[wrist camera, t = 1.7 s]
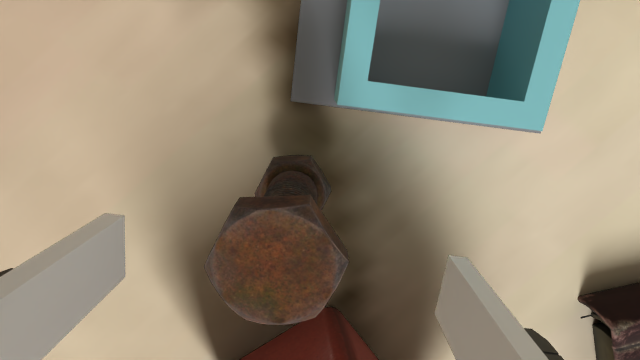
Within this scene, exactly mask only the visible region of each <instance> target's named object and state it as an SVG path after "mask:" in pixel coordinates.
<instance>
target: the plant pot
mask: <svg viewBox="0 0 640 360" xmlns="http://www.w3.org/2000/svg"><path fill="white" fill-rule="evenodd" d="M240 360H378V358H377V357H376V356H375V355H374V353H373V352H372V351H371V350H370V348H369V347H368V346H367V345H366V343H365V342H364V341H363V340H362V338H361V337H360V336H359V335H358V333H357V332H356V331H355V330H354V328H353V327H352V326H351V325H350V323H349V322H348V321H347V320H346V318H345V317H344V316H343V315H342V313H341V312H340V311H339V310H337V309H336V308H333V307H327V308H323V309H322V311H321V312H320V313H319V314H318V315H317V316H316V317H315V318H312V319H309V320H305V321H302V322H300V323H298V324H297V325H295V326H293V327H292V328H290V329H289V330H287V331H285V332H284V333H282V334H281V335H279V336H277V337H276V338H274V339H272V340H271V341H269V342H267V343H266V344H264V345H263V346H261V347H259V348H258V349H256V350H254V351H253V352H251V353H249V354H248V355H246V356H245V357H243V358H241V359H240Z"/></svg>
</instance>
